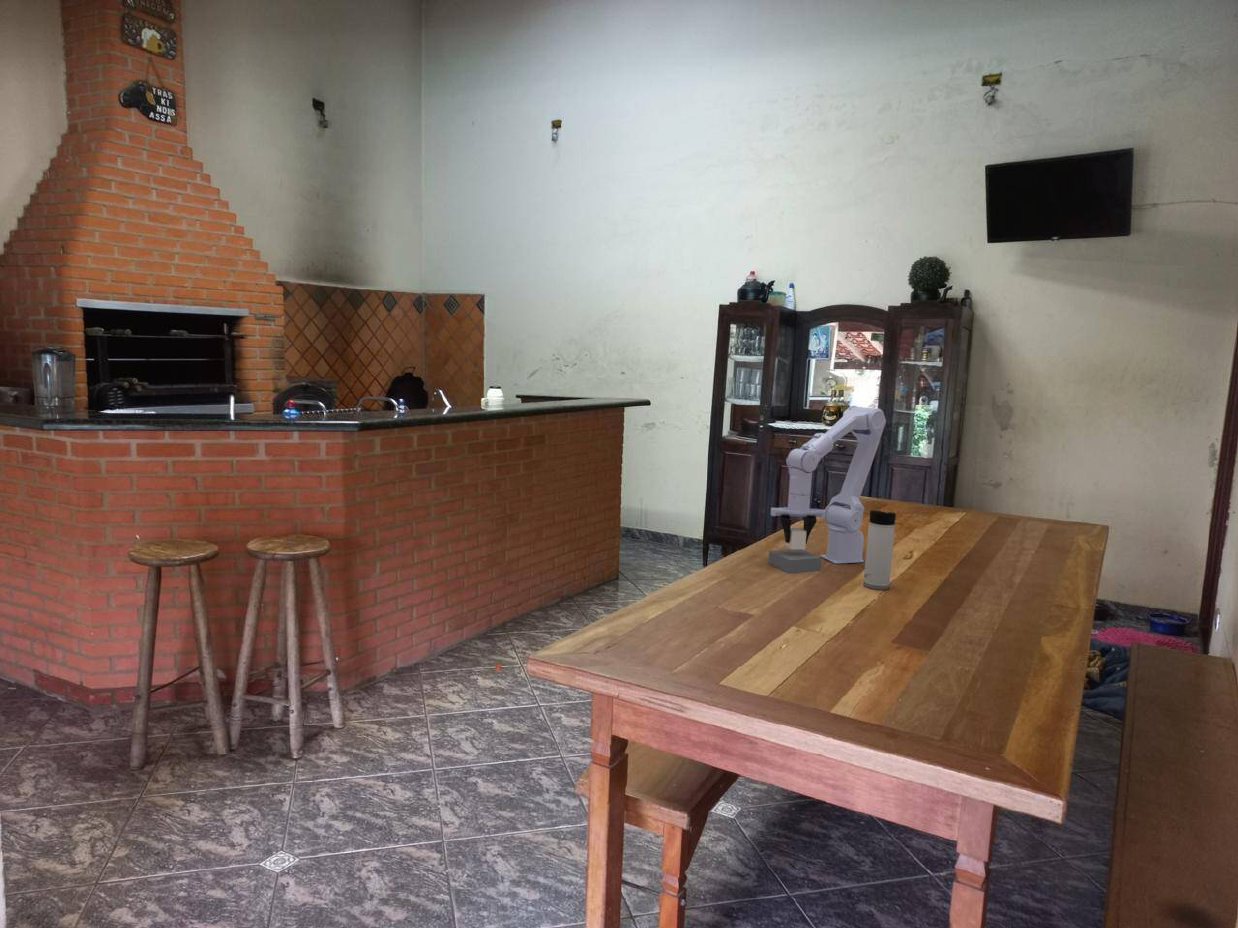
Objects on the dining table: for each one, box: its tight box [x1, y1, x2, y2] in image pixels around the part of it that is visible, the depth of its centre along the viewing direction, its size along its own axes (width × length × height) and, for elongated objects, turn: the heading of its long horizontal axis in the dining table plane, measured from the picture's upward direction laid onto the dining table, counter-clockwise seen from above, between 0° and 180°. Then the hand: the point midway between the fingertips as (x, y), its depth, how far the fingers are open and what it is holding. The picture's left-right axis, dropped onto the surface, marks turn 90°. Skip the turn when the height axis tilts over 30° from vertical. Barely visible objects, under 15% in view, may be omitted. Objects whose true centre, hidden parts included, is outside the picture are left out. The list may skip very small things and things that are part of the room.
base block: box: [768, 548, 822, 574], centre depth 212 cm, size 10×10×4 cm
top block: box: [785, 527, 807, 550], centre depth 211 cm, size 4×4×5 cm
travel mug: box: [863, 509, 897, 591], centre depth 196 cm, size 6×7×20 cm
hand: (795, 542), depth 212 cm, fingers closed on top block, 4 cm apart
